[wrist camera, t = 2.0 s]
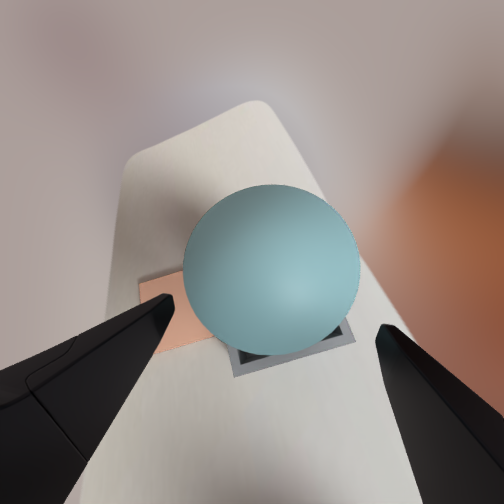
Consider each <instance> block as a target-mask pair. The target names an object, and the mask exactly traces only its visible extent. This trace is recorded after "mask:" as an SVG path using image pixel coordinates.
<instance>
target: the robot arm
mask: <svg viewBox="0 0 504 504" xmlns="http://www.w3.org/2000/svg"><path fill="white" fill-rule="evenodd" d="M174 312H175V304H174V299H173V296H172V294H167V293H162V294H160V295H158V296H156V297H154V298H152V299H150V300H148V301H146V302H144V303H142V304H140V305H138V306H136V307H134V308H132V309H130V310H128V311H126V312H124V313H122V314H120V315H117V316H115V317H113V318H111V319H109V320H107V321H105V322H103V323H101V324H99V325H97V326H95V327H93V328H91V329H89V330H87V331H85V332H83V333H81V334H79V335H78V336H75V337H73V338H71V339H69V340H67V341H65V342H63V343H60V344H58V345H56V346H54V347H52V348H50V349H48V350H46V351H43V352H41V353H39V354H37V355H35V356H32V357H30V358H28V359H26V360H23V361H21V362H19V363H16V364H14V365H12V366H9V367H7V368H5V369H3V370H0V504H64V502H65V500H66V498H67V497H68V495H69V494H70V492H71V490H72V489H73V487H74V485H75V484H76V482H77V480H78V479H79V477H80V475H81V474H82V472H83V470H84V469H85V467H86V465H87V464H88V461H89V460H90V458H91V457H92V455H93V453H94V452H95V450H96V448H97V447H98V445H99V443H100V442H101V440H102V438H103V437H104V435H105V434H106V432H107V430H108V429H109V427H110V425H111V424H112V422H113V420H114V419H115V417H116V415H117V414H118V412H119V410H120V409H121V407H122V405H123V404H124V402H125V400H126V399H127V397H128V395H129V394H130V392H131V390H132V389H133V387H134V385H135V384H136V382H137V380H138V379H139V377H140V375H141V374H142V372H143V370H144V369H145V367H146V365H147V364H148V362H149V360H150V359H151V357H152V355H153V354H154V352H155V350H156V349H157V347H158V345H159V343H160V342H161V340H162V338H163V336H164V334H165V331H166V329H167V327H168V325H169V323H170V321H171V319H172V317H173V315H174ZM375 343H376V348H377V353H378V358H379V362H380V367H381V372H382V377H383V381H384V385H385V388H386V391H387V394H388V398H389V401H390V404H391V407H392V410H393V413H394V416H395V419H396V422H397V425H398V428H399V431H400V434H401V437H402V440H403V444H404V447H405V450H406V453H407V456H408V459H409V462H410V465H411V468H412V471H413V474H414V477H415V480H416V483H417V486H418V490H419V493H420V496H421V499H422V502H423V504H504V418H503V416H502V415H501V414H500V413H498V412H497V411H496V410H495V409H494V408H492V407H491V406H490V405H489V404H488V403H486V402H485V401H484V400H483V399H482V398H481V397H479V396H478V395H477V394H476V393H475V392H473V391H472V390H471V389H470V388H469V387H467V386H466V385H465V384H464V383H463V382H461V381H460V380H459V379H458V378H457V377H455V376H454V375H453V374H452V373H451V372H449V371H448V370H447V369H446V368H445V367H444V366H442V365H441V364H440V363H439V362H438V361H436V360H435V359H434V358H433V357H432V356H430V355H429V354H428V353H426V351H424V350H423V349H422V348H421V347H420V346H418V345H417V344H416V343H415V342H414V341H412V340H411V339H410V338H409V337H408V336H406V335H405V334H404V333H403V332H402V331H400V330H399V329H398V328H397V327H396V326H394V325H389V324H382V325H381V326H380V329H379V331H378V334H377V336H376V340H375Z"/></svg>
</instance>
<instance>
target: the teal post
mask: <svg viewBox="0 0 504 504" xmlns="http://www.w3.org/2000/svg"><path fill="white" fill-rule="evenodd" d="M183 280H184V287H185V291H186V295H187V298H188V300H189V303H190V305H191V307H192V309H193V311H194V313H195V315H196V316H197V317H198V319H199V320H200V322H201V323H202V324H203V325H204V326H205V327H206V328H207V329H208V330H209V331H210V332H211V333H212V334H213V335H214V336H216V337H217V338H218V339H219V340H221V341H222V342H224V343H226V344H228V345H230V346H231V347H234V348H236V349H239V350H241V351H244V352H248V353H253V354H258V355H284V354H289V353H293V352H297V351H300V350H303V349H305V348H308V347H310V346H312V345H314V344H316V343H318V342H319V341H321V340H322V339H324V338H325V337H326V336H328V335H329V334H330V333H332V332H333V331H334V329H335V328H336V327H337V326H338V325H339V324H340V323H341V322H342V321H343V319H344V318H345V316H346V315H347V314H348V312H349V310H350V308H351V306H352V304H353V302H354V300H355V297H356V294H357V291H358V286H359V280H360V259H359V252H358V248H357V245H356V242H355V239H354V237H353V234H352V232H351V230H350V229H349V227H348V225H347V224H346V222H345V221H344V220H343V218H342V217H341V216H340V214H339V213H338V212H337V211H336V210H335V209H333V207H332V206H330V205H329V204H328V203H326V202H325V201H324V200H322V199H321V198H319V197H317V196H316V195H314V194H312V193H309V192H307V191H305V190H302V189H298V188H295V187H290V186H285V185H260V186H254V187H250V188H246V189H243V190H240V191H238V192H235V193H233V194H231V195H229V196H227V197H225V198H224V199H222V200H221V201H219V202H218V203H217V204H215V205H214V206H213V207H212V208H211V209H210V210H209V211H208V212H207V213H206V214H205V215H204V216H203V217H202V218H201V220H200V221H199V222H198V224H197V225H196V227H195V229H194V230H193V232H192V234H191V236H190V239H189V241H188V244H187V247H186V250H185V255H184V261H183Z"/></svg>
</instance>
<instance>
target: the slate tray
mask: <svg viewBox="0 0 504 504" xmlns="http://www.w3.org/2000/svg"><path fill="white" fill-rule="evenodd" d="M354 342H356V340H355V338H354V336H353V333H352V331H351V328H350V326H349V324H348V321H347V319H346V317H345V318H344V319H343V321H342V322H341V323H340V324H339V325H338V326H337V327H336V328H335V329H334V331H333V332H332V333H330V334H329V335H328V336H326V337H325V338H324V339H322V340H321V341H319V342H318V343H316V344H314V345H312V346H310V347H308V348H305V349H303V350H300V351H297V352H293V353H289V354H284V355H258V354H253V353H248V352H244V351H241V350H239V349H236V348H234V347H231V346H230V345H228V344H227V347H228V352H229V357H230V361H231V366H232V371H233V375H234V377H238V376H241V375H244V374H248V373H251V372H255V371H258V370H261V369H265V368H268V367H272V366H275V365H279V364H282V363H285V362H289V361H292V360H296V359H299V358H303V357H306V356H309V355H313V354H316V353H320V352H323V351H326V350H330V349H333V348H337V347H340V346H344V345H347V344H350V343H354Z"/></svg>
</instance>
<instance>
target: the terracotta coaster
mask: <svg viewBox="0 0 504 504" xmlns="http://www.w3.org/2000/svg"><path fill="white" fill-rule="evenodd" d="M139 289H140V301H141V304H142V303H144V302H146V301H148V300H150V299H152V298H154V297H156V296H158V295H160V294H162V293H167V294H172V296H173V299H174V304H175V312H174V315H173V317H172V319H171V321H170V323H169V325H168V327H167V329H166V331H165V334H164V336H163V338H162V340H161V342H160V343H159V345H158V347H157V349H156V350H155V352H154V354H156V353H160V352H163V351H166V350H170V349H173V348H177V347H180V346H183V345H187V344H190V343H193V342H197V341H200V340H203V339H207V338H210V337H213V336H214V335H213V334H212V333H211V332H210V331H209V330H208V329H207V328H206V327H205V326H204V325H203V324H202V323H201V322H200V320H199V319H198V317H197V316H196V315H195V313H194V311H193V309H192V307H191V305H190V303H189V300H188V298H187V295H186V291H185V287H184V280H183V270H182V271H179V272H176V273H172V274H169V275H166V276H163V277H159V278H156V279H153V280H150V281H147V282H143V283H140V284H139Z"/></svg>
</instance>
